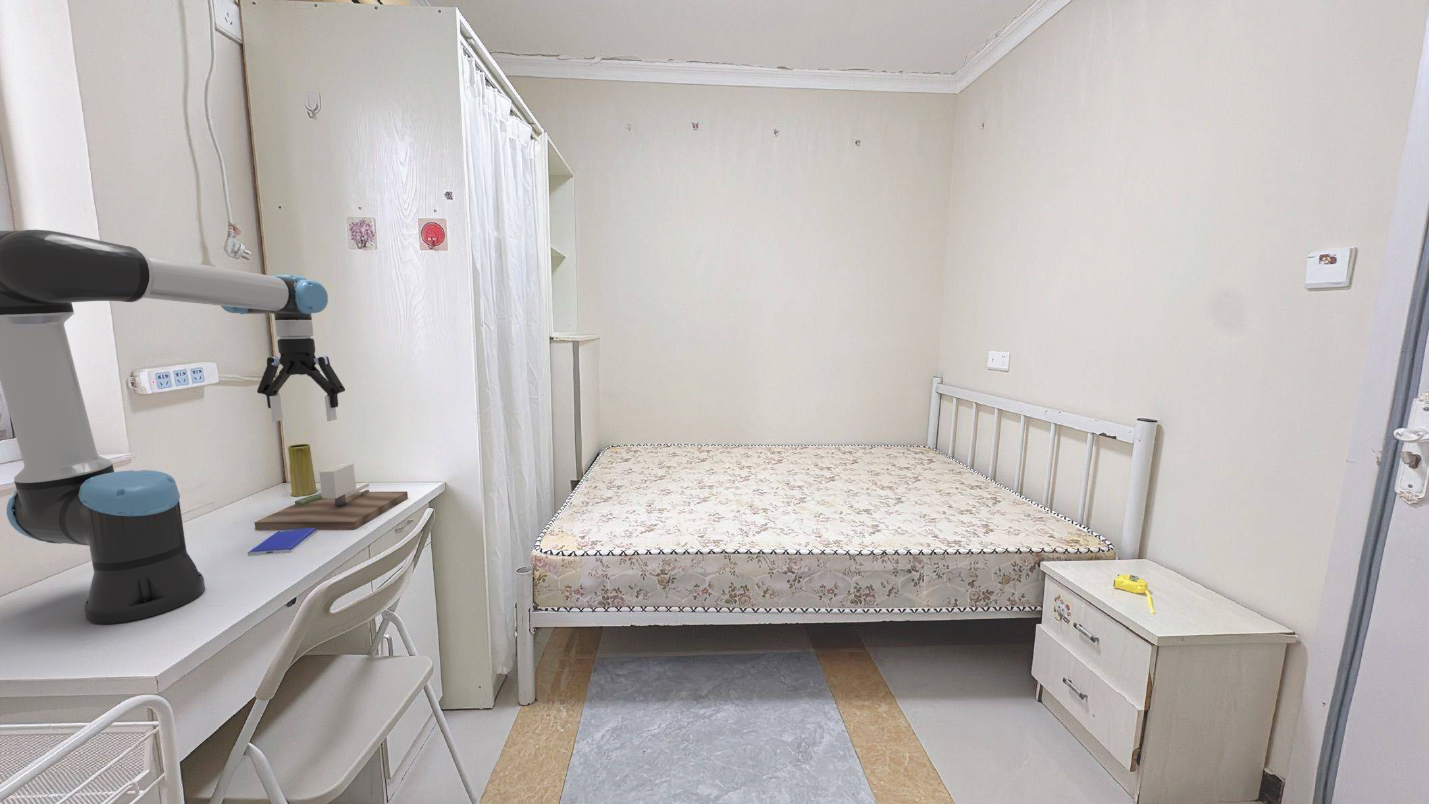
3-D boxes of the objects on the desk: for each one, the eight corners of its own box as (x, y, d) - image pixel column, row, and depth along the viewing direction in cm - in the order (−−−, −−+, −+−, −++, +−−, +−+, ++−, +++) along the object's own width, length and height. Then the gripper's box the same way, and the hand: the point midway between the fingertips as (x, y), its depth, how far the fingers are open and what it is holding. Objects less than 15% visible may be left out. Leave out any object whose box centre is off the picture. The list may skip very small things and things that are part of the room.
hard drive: (277, 530, 133) (247, 551, 121) (316, 527, 135) (290, 547, 123) (277, 536, 133) (248, 558, 121) (316, 533, 135) (291, 554, 123)
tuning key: (337, 509, 143) (333, 471, 142) (323, 509, 143) (319, 471, 142) (373, 491, 159) (370, 456, 157) (360, 491, 159) (357, 456, 157)
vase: (309, 489, 168) (304, 442, 166) (321, 491, 166) (316, 444, 164) (286, 494, 163) (281, 446, 161) (298, 497, 160) (293, 448, 158)
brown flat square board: (354, 529, 136) (353, 517, 135) (255, 530, 136) (253, 518, 135) (407, 498, 159) (407, 488, 159) (323, 498, 159) (322, 488, 159)
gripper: (355, 337, 146) (362, 417, 149) (256, 337, 145) (265, 418, 148) (337, 338, 139) (345, 422, 142) (232, 338, 137) (243, 423, 141)
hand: (305, 420), depth 145 cm, fingers open, 13 cm apart
